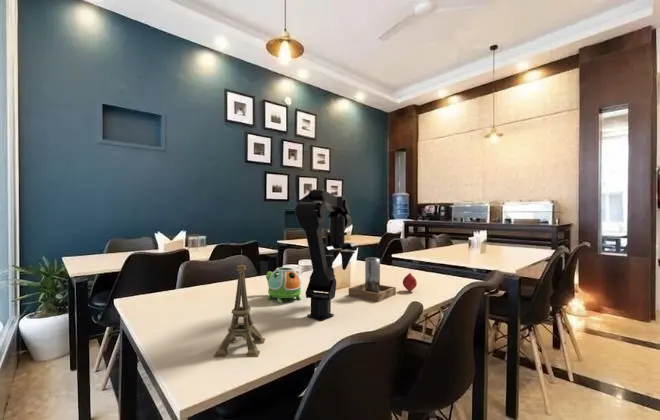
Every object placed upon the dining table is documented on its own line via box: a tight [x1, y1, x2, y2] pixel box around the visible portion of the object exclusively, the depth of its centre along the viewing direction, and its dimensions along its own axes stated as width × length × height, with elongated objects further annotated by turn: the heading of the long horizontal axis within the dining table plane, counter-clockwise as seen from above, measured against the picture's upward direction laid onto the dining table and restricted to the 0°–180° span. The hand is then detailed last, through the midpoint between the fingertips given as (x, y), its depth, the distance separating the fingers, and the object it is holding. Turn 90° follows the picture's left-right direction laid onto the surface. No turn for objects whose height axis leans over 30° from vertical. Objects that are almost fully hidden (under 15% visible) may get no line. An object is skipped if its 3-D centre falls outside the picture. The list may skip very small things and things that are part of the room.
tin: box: [364, 256, 381, 293], centre depth 133 cm, size 6×6×14 cm
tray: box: [348, 282, 397, 303], centre depth 133 cm, size 14×14×3 cm
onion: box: [402, 272, 418, 292], centre depth 140 cm, size 6×6×8 cm
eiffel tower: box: [212, 249, 266, 358], centre depth 82 cm, size 11×11×25 cm
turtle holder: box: [265, 266, 302, 304], centre depth 129 cm, size 12×18×12 cm
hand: (336, 271), depth 121 cm, fingers open, 9 cm apart
